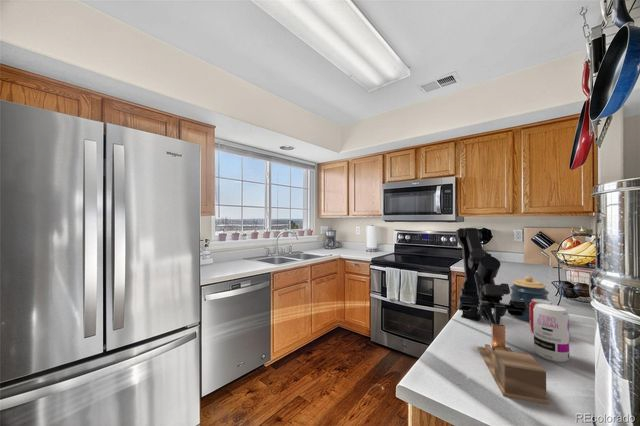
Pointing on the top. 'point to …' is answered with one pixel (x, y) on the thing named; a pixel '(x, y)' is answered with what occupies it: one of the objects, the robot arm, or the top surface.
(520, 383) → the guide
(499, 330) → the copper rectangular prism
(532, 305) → the soda can
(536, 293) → the canister
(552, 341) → the supplement can
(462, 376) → the top surface
